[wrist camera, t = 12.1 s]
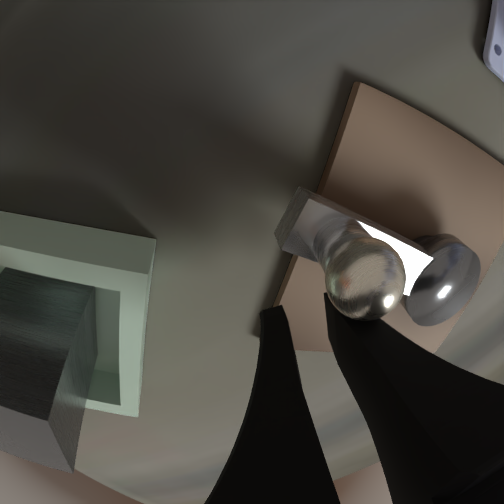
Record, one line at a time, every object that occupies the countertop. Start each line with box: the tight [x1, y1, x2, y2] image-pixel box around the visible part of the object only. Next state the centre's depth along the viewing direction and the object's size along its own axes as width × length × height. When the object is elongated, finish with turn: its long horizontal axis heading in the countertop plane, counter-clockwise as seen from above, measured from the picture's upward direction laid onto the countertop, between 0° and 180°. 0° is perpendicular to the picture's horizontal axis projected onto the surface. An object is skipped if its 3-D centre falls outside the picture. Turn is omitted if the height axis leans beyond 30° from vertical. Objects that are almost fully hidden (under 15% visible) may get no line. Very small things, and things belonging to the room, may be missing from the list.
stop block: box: [0, 267, 98, 473], centre depth 9 cm, size 4×4×6 cm
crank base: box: [259, 82, 504, 353], centre depth 12 cm, size 11×11×1 cm
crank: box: [274, 186, 481, 326], centre depth 9 cm, size 9×4×4 cm, turn 65°
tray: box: [0, 211, 157, 417], centre depth 11 cm, size 8×8×2 cm
